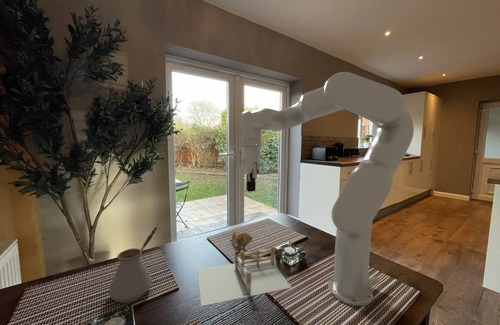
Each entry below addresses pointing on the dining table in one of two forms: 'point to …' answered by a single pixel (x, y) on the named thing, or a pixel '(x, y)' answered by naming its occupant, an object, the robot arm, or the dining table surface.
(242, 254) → the fixed fence
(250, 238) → the lion figurine
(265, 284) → the card
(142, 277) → the coffee pot
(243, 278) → the fence panel
